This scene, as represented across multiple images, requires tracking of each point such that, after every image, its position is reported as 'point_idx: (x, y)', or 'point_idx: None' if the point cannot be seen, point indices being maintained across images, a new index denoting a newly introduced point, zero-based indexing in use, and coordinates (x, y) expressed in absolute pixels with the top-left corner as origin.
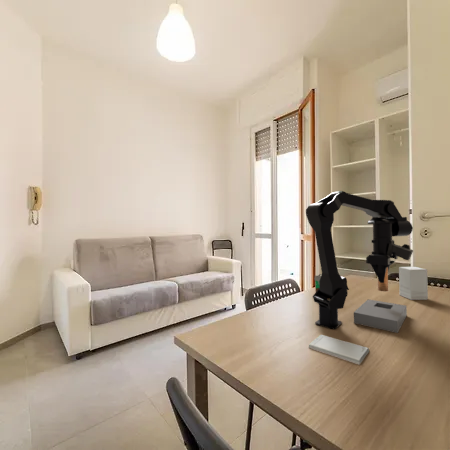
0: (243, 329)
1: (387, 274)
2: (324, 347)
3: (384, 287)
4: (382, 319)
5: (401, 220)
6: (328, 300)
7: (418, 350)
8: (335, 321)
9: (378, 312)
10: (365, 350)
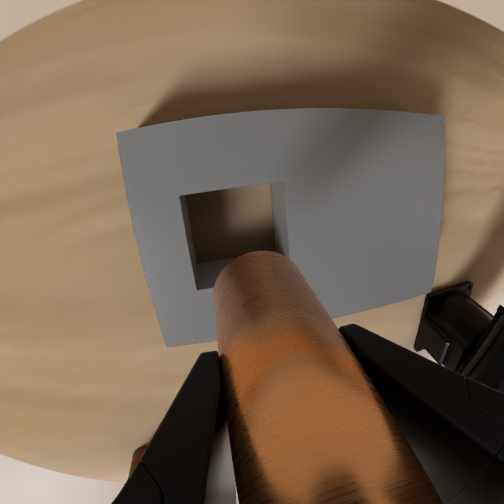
0: None
1: (336, 393)
2: None
3: (310, 288)
4: (441, 175)
5: None
6: (463, 372)
7: (474, 62)
8: (466, 298)
9: (385, 215)
10: None
